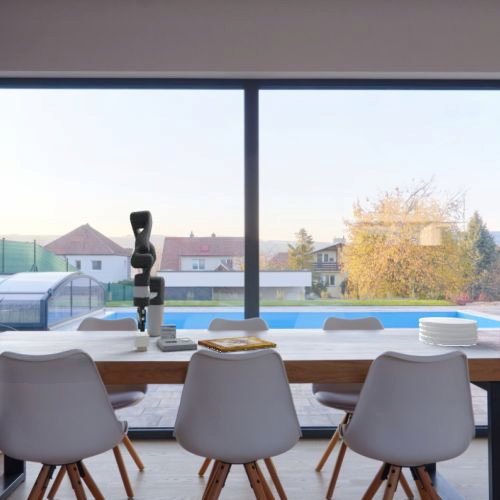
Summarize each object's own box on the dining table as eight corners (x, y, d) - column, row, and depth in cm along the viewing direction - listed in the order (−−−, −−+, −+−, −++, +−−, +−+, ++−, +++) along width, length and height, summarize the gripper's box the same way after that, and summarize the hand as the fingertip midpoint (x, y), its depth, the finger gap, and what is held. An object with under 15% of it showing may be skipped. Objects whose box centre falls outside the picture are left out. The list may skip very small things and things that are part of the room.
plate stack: (424, 336, 262) (424, 316, 262) (480, 340, 247) (480, 319, 248) (414, 344, 238) (413, 321, 238) (475, 349, 223) (474, 325, 224)
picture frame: (197, 340, 237) (249, 336, 252) (197, 344, 237) (249, 340, 252) (221, 349, 214) (276, 343, 228) (221, 354, 214) (276, 348, 228)
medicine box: (160, 342, 241) (160, 325, 241) (160, 341, 245) (160, 324, 245) (176, 341, 243) (176, 325, 243) (175, 340, 247) (175, 324, 248)
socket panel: (156, 344, 235) (156, 337, 235) (188, 342, 241) (188, 336, 241) (163, 351, 216) (163, 344, 216) (197, 349, 222) (197, 342, 222)
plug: (134, 349, 221) (134, 334, 222) (147, 348, 224) (147, 334, 224) (135, 351, 216) (135, 336, 216) (149, 350, 218) (149, 335, 218)
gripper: (132, 295, 226) (131, 329, 225) (135, 297, 213) (134, 332, 212) (147, 295, 228) (147, 328, 228) (151, 296, 215) (151, 332, 214)
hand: (141, 330), depth 220 cm, fingers open, 8 cm apart
